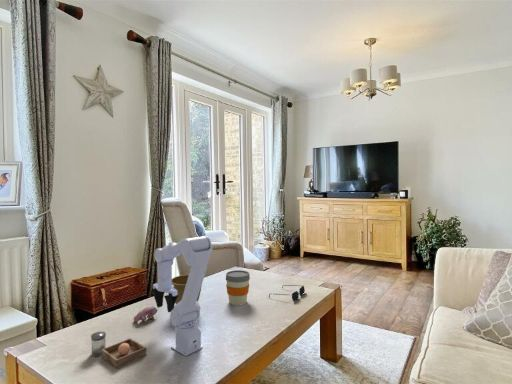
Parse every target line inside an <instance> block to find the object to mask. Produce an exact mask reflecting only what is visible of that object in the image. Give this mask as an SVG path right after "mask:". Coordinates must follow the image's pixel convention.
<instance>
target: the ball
mask: <svg viewBox="0 0 512 384" xmlns="http://www.w3.org/2000/svg"><path fill="white" fill-rule="evenodd" d="M129 350H130V346H129V344H127V343H122V344H121V345H120V346H119V347H118V353H119V354H120V355H126V354H127V353H128V352H129Z"/></svg>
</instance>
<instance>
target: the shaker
mask: <svg viewBox="0 0 512 384" xmlns="http://www.w3.org/2000/svg"><path fill="white" fill-rule="evenodd" d="M106 335H107V334H106V331H97V332H94V333H92V334H91V335H90V341H91V356H92V357H94V358H96V357H97V358H98V357H102V349H104V348H107V346H106V343H107V340H106V337H107V336H106Z"/></svg>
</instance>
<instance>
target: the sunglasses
mask: <svg viewBox="0 0 512 384" xmlns="http://www.w3.org/2000/svg"><path fill="white" fill-rule="evenodd" d="M285 286H286V287H299V285H297V284H296V285H293V284H289V285H288V284H283V285H282V287H281V289H282V288H283V289H284V287H285ZM304 292H305V293H306V290H305V285H301V286H300V288H299V291H298V290H296V291H294V292H292V293H291V300H292V301H293V302H294V301H295V300H296V299H297V298H298V299H299V298H300V297H302V296H303V295H304V294H305V293H304ZM303 293H304V294H303ZM302 294H303V295H302ZM274 295H275V296H277V295H279V296H280V295H281V296H289V294H287V293H285V294H284V293H274ZM301 295H302V296H301ZM299 296H300V297H299ZM269 297H271V293H269V295H268V298H269ZM298 299H297V300H298ZM297 300H296V301H297ZM296 301H295V302H296Z"/></svg>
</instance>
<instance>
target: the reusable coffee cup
mask: <svg viewBox="0 0 512 384" xmlns="http://www.w3.org/2000/svg"><path fill="white" fill-rule="evenodd" d="M250 279H251V275H250V272H249V271H247V270H243V269H242V270H239V269H238V270H230V271H227V272H226V273H225V281H226V284H225V285H226V292H227V296H228V302H229V304H230V305H232V304H233V306H242V305H241V304H243V305H245V304H246V303H247V300H248V295H249V288H250Z"/></svg>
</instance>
